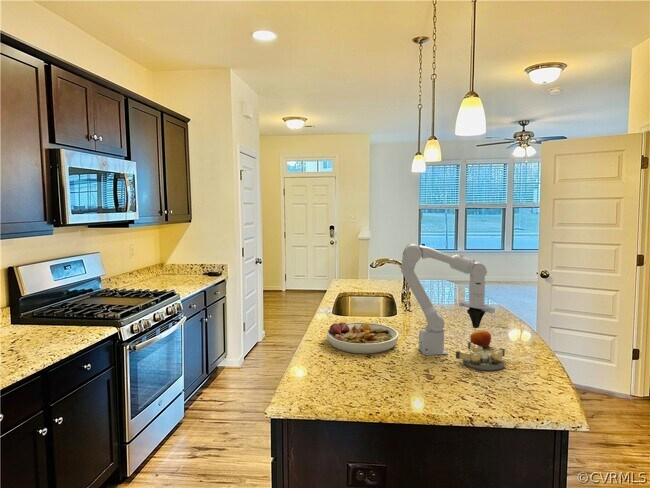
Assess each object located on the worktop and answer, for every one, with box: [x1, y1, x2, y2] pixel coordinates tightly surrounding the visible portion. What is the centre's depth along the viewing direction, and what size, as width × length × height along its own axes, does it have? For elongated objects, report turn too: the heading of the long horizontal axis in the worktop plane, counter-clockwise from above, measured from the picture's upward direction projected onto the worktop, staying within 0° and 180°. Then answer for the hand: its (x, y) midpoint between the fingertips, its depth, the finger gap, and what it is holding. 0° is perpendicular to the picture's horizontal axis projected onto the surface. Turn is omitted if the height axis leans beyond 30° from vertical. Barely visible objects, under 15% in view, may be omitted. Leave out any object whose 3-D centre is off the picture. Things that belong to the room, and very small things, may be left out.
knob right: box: [490, 347, 506, 364], centre depth 151 cm, size 9×4×4 cm, turn 139°
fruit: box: [469, 329, 492, 348], centre depth 170 cm, size 8×8×8 cm
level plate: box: [462, 350, 505, 372], centre depth 151 cm, size 14×14×4 cm
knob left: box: [455, 350, 481, 364], centre depth 150 cm, size 9×4×4 cm, turn 55°
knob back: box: [467, 341, 484, 352], centre depth 158 cm, size 9×4×4 cm, turn 5°
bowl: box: [326, 322, 399, 355], centre depth 175 cm, size 30×30×8 cm
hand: (476, 327), depth 161 cm, fingers closed
